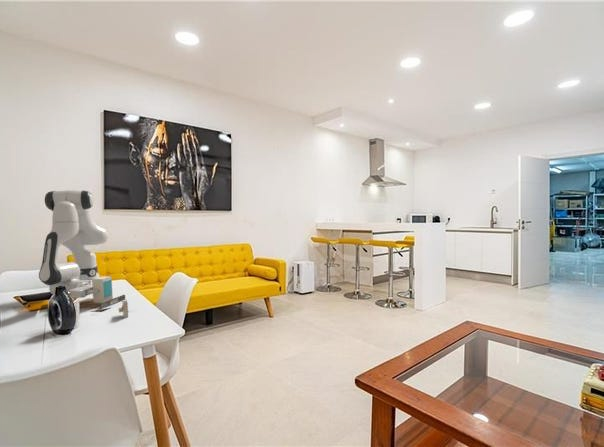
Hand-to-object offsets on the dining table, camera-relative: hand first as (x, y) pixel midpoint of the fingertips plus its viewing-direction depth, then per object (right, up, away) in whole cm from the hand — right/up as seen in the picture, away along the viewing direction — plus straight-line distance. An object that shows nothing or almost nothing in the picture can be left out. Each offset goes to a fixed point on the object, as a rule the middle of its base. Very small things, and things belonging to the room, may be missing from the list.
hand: (104, 289), depth 161 cm
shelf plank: (-6, -9, +1) cm, 11 cm away
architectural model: (+19, -10, -15) cm, 26 cm away
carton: (-1, -6, 0) cm, 6 cm away
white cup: (+3, -11, -28) cm, 30 cm away
